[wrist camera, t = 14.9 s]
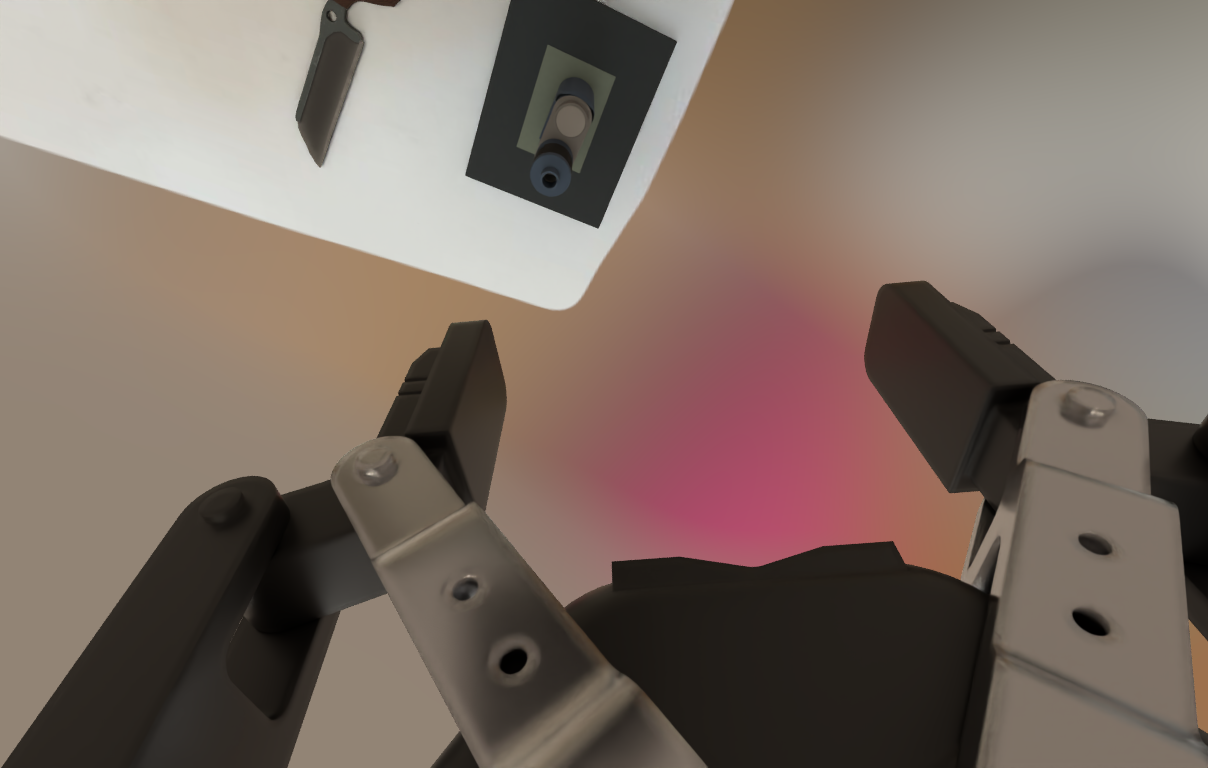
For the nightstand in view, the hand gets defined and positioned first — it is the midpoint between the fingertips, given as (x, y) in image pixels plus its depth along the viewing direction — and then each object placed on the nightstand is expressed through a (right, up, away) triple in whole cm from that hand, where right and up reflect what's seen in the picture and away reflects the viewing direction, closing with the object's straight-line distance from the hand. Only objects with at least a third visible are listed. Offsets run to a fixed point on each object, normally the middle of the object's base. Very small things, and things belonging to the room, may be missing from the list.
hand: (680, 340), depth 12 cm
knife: (-20, +21, +27) cm, 39 cm away
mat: (-4, +19, +28) cm, 34 cm away
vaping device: (-4, +19, +28) cm, 34 cm away
